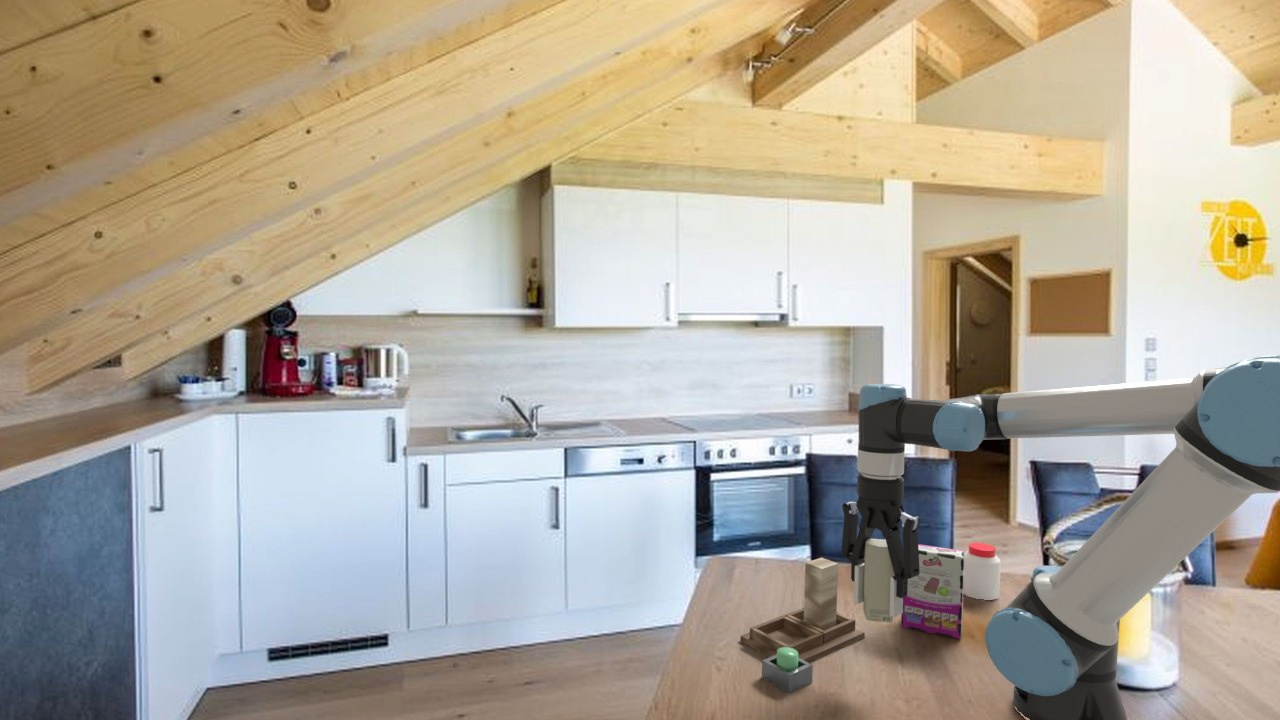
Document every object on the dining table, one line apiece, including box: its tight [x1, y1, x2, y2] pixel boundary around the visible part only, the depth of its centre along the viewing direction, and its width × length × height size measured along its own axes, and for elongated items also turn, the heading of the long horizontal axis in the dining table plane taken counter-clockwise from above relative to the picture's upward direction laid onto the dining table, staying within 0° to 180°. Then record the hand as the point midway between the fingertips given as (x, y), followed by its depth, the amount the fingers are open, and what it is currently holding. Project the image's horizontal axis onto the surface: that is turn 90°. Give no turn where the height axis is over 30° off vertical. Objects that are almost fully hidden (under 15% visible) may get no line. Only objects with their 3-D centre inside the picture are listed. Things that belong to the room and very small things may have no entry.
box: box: [862, 537, 894, 623], centre depth 115 cm, size 5×4×13 cm
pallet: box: [739, 557, 866, 663], centre depth 130 cm, size 13×21×14 cm, turn 127°
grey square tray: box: [761, 654, 814, 694], centre depth 115 cm, size 6×6×3 cm
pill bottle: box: [963, 542, 1002, 601], centre depth 153 cm, size 8×8×11 cm
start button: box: [777, 647, 798, 672], centre depth 115 cm, size 4×4×4 cm
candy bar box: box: [900, 543, 966, 640], centre depth 135 cm, size 11×5×16 cm, turn 62°
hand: (878, 607), depth 116 cm, fingers closed on box, 6 cm apart
